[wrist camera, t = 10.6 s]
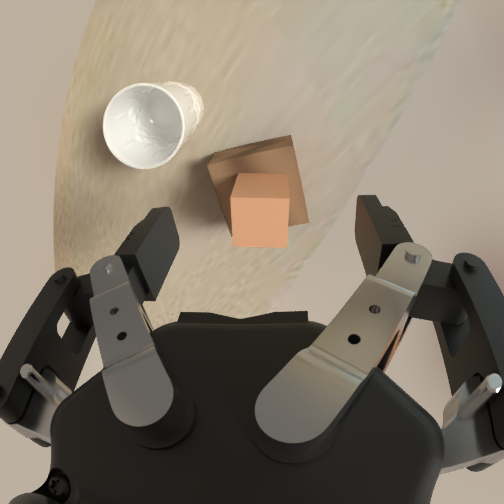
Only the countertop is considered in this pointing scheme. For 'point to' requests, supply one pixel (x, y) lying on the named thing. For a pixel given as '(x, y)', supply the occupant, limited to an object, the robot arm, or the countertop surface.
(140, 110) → the white cup
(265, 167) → the walnut block
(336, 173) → the countertop surface
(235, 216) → the terracotta block
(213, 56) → the countertop surface
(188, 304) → the countertop surface
